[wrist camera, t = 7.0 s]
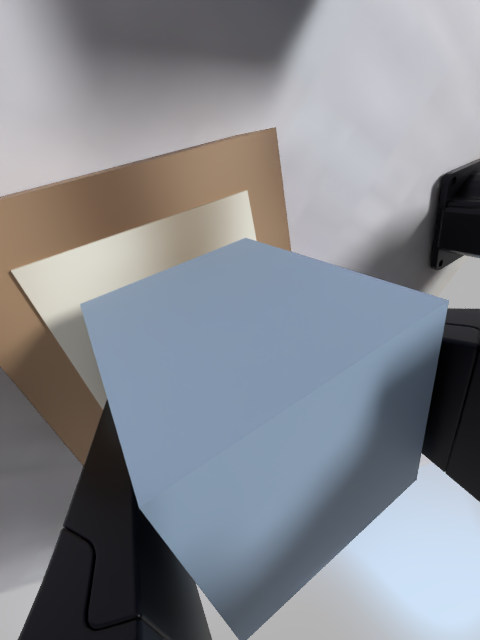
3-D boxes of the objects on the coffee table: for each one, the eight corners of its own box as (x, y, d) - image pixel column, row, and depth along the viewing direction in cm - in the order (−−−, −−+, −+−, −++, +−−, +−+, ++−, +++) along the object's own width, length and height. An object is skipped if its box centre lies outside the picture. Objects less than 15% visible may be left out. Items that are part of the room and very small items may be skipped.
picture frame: (236, 135, 12) (277, 127, 10) (274, 341, 17) (306, 364, 15) (-77, 217, 8) (-115, 231, 6) (94, 443, 13) (103, 491, 11)
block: (245, 237, 9) (449, 300, 5) (270, 360, 12) (416, 479, 7) (79, 304, 8) (138, 508, 3) (151, 430, 10) (242, 644, 6)
